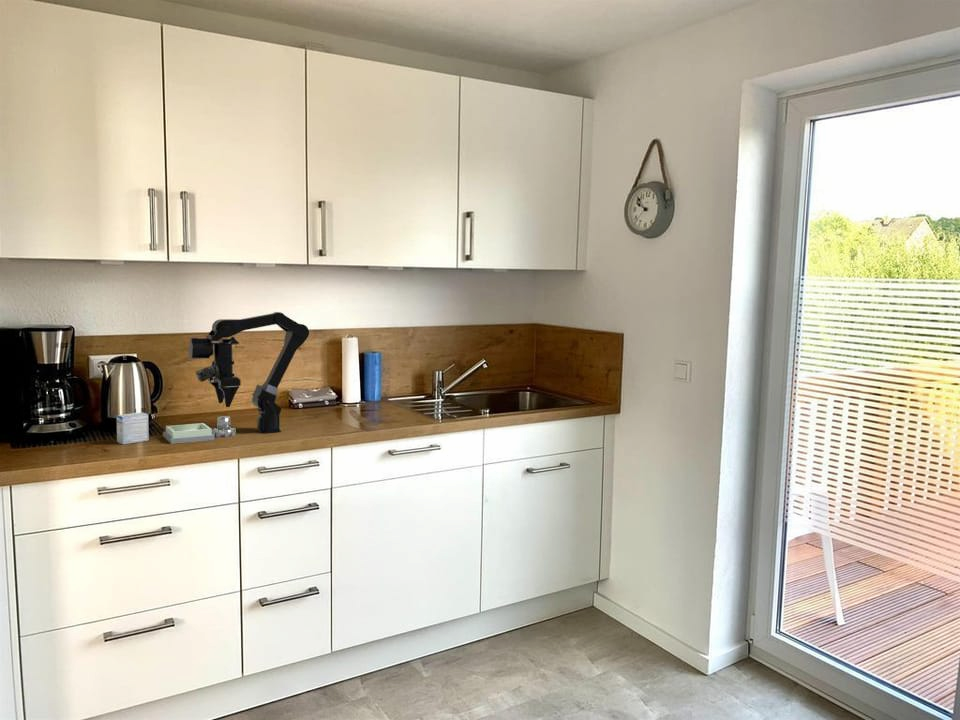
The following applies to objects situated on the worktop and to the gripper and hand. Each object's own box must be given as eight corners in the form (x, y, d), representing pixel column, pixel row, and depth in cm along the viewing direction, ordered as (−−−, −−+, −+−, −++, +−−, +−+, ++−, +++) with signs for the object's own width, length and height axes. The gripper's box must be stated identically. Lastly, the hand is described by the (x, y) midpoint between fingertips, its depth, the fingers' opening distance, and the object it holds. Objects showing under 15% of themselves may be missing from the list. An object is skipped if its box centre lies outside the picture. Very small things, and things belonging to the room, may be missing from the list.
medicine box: (142, 439, 224) (141, 412, 223) (149, 441, 221) (148, 413, 220) (116, 442, 218) (116, 415, 217) (123, 444, 215) (122, 416, 214)
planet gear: (232, 432, 238) (232, 414, 237) (238, 436, 232) (238, 418, 231) (209, 434, 234) (209, 416, 233) (215, 438, 228) (215, 419, 227)
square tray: (205, 432, 236) (205, 422, 235) (214, 439, 225) (214, 429, 225) (163, 436, 228) (163, 425, 228) (171, 443, 218) (170, 432, 217)
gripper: (191, 356, 234) (192, 402, 235) (204, 361, 218) (205, 411, 220) (225, 355, 240) (226, 400, 241) (240, 360, 224) (241, 408, 226)
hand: (224, 405), depth 232 cm, fingers open, 9 cm apart
